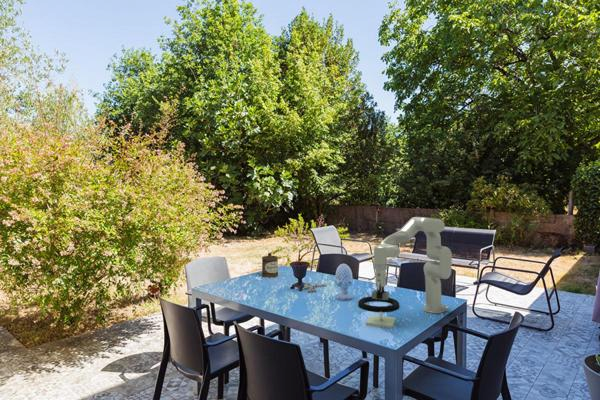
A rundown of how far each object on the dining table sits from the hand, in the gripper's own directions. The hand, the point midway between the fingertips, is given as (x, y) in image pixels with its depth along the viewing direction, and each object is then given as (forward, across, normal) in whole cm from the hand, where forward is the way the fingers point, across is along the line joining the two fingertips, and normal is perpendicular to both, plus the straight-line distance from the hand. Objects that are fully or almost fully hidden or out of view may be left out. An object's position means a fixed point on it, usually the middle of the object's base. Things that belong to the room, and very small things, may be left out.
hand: (380, 296), depth 221 cm
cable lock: (+16, +34, +7) cm, 39 cm away
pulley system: (+16, +64, +66) cm, 93 cm away
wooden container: (+16, +93, +120) cm, 153 cm away
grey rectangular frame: (+1, 0, 0) cm, 1 cm away
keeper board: (+15, 0, 0) cm, 15 cm away
